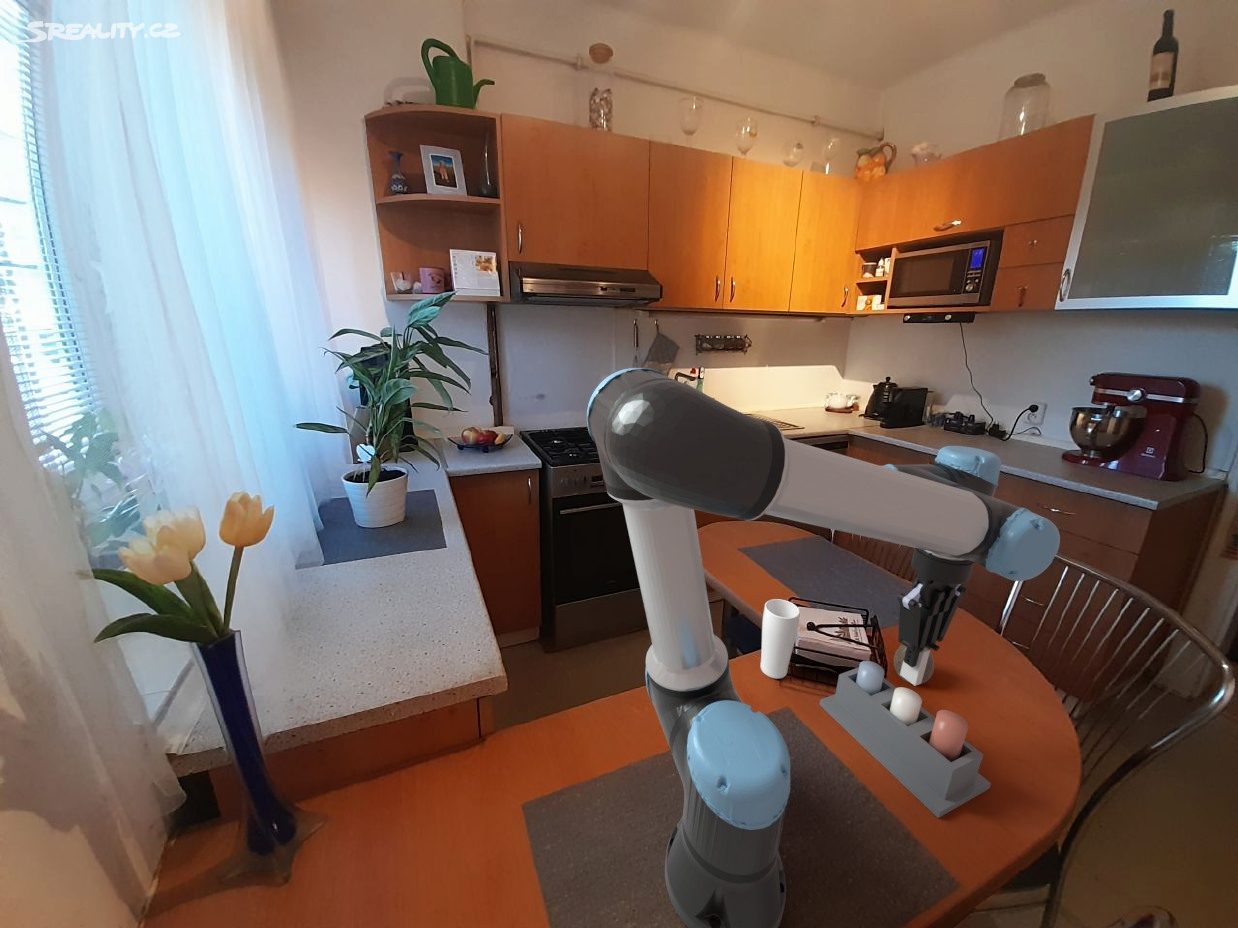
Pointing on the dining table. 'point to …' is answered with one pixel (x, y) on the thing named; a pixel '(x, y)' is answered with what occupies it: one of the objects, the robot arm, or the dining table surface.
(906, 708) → the white rounded cylinder
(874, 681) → the light blue rounded cylinder
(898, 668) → the vase
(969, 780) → the grey slotted holder
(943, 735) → the pink rounded cylinder
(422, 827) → the dining table surface
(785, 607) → the drinking glass
